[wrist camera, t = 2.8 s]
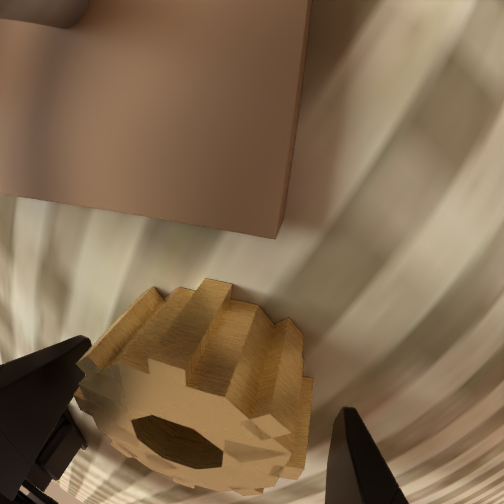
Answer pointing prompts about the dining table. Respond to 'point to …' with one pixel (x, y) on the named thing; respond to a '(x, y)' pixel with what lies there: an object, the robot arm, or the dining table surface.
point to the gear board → (154, 106)
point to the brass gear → (201, 389)
